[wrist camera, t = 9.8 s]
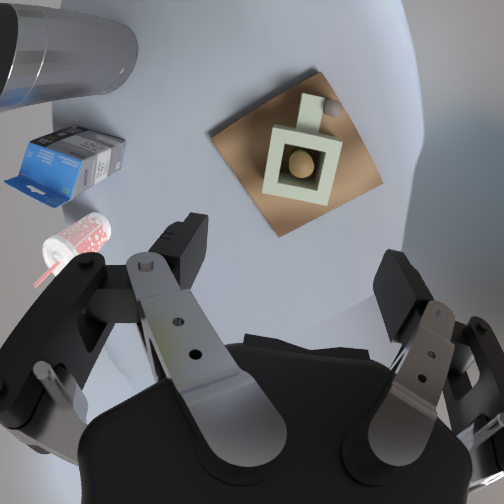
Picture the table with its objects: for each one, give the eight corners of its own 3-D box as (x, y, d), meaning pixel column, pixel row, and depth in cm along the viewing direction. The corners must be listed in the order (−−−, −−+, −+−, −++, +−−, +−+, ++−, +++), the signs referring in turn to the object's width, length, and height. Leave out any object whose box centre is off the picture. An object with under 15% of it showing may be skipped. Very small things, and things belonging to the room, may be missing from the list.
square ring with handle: (322, 192, 28) (327, 206, 25) (265, 180, 29) (261, 193, 25) (342, 103, 24) (350, 103, 20) (280, 90, 24) (279, 88, 20)
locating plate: (212, 138, 28) (200, 144, 24) (320, 72, 23) (325, 67, 19) (279, 233, 33) (277, 253, 29) (380, 180, 28) (394, 193, 24)
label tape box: (127, 140, 29) (57, 169, 18) (121, 172, 31) (54, 212, 20) (74, 124, 28) (2, 148, 17) (70, 153, 30) (2, 185, 19)
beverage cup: (75, 219, 35) (11, 272, 23) (98, 199, 33) (27, 252, 21) (98, 252, 37) (42, 314, 25) (123, 235, 35) (62, 301, 23)
